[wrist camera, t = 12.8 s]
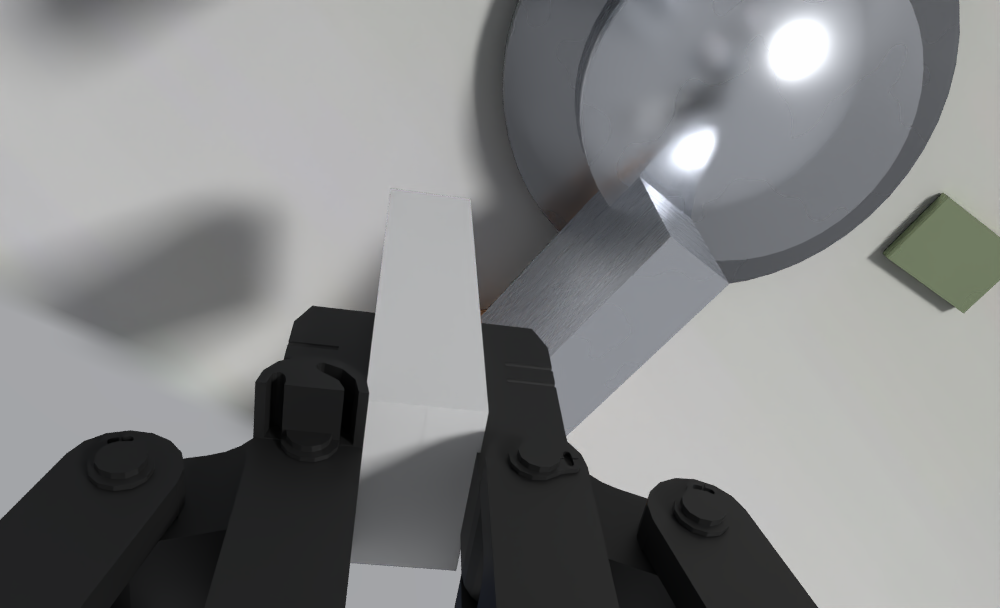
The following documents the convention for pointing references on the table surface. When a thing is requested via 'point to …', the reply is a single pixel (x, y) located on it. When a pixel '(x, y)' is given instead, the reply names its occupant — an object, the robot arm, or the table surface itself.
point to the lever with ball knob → (708, 164)
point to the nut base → (918, 250)
